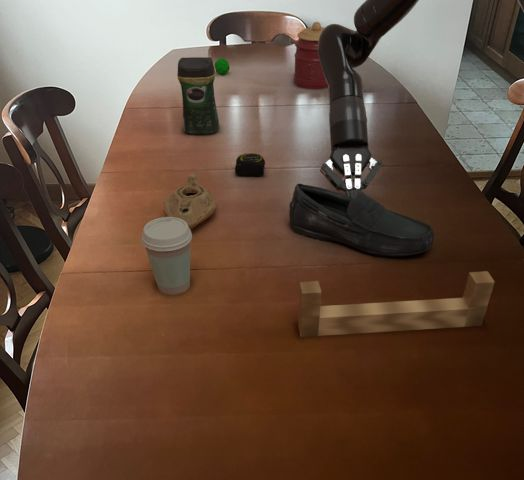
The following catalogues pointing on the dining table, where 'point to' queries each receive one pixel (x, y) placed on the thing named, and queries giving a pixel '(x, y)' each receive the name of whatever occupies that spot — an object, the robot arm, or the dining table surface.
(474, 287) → the wooden u-shaped bracket
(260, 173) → the tape measure
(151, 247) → the coffee cup
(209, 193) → the oil lamp
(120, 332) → the dining table surface
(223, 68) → the polyhedron
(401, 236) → the loafer
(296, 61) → the kitchen canister
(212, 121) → the coffee jar
